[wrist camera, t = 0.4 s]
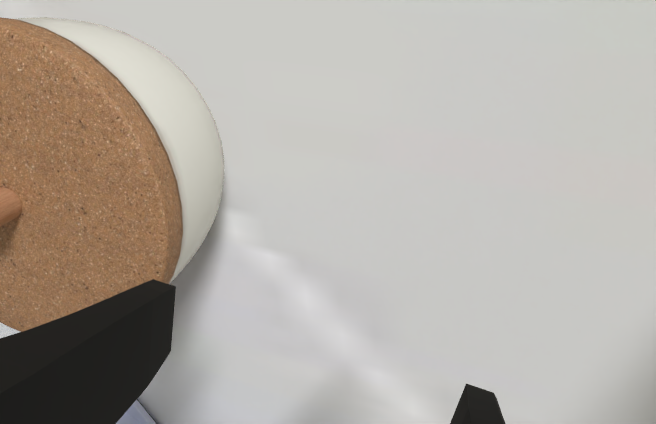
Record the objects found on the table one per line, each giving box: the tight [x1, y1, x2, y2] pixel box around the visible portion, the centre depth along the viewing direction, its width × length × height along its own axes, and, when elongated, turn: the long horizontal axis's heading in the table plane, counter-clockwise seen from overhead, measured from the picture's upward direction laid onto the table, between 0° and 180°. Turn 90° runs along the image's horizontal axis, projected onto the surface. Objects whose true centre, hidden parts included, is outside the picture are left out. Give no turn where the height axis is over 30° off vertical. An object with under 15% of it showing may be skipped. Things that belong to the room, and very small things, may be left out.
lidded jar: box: [0, 17, 224, 332], centre depth 20 cm, size 11×11×9 cm
